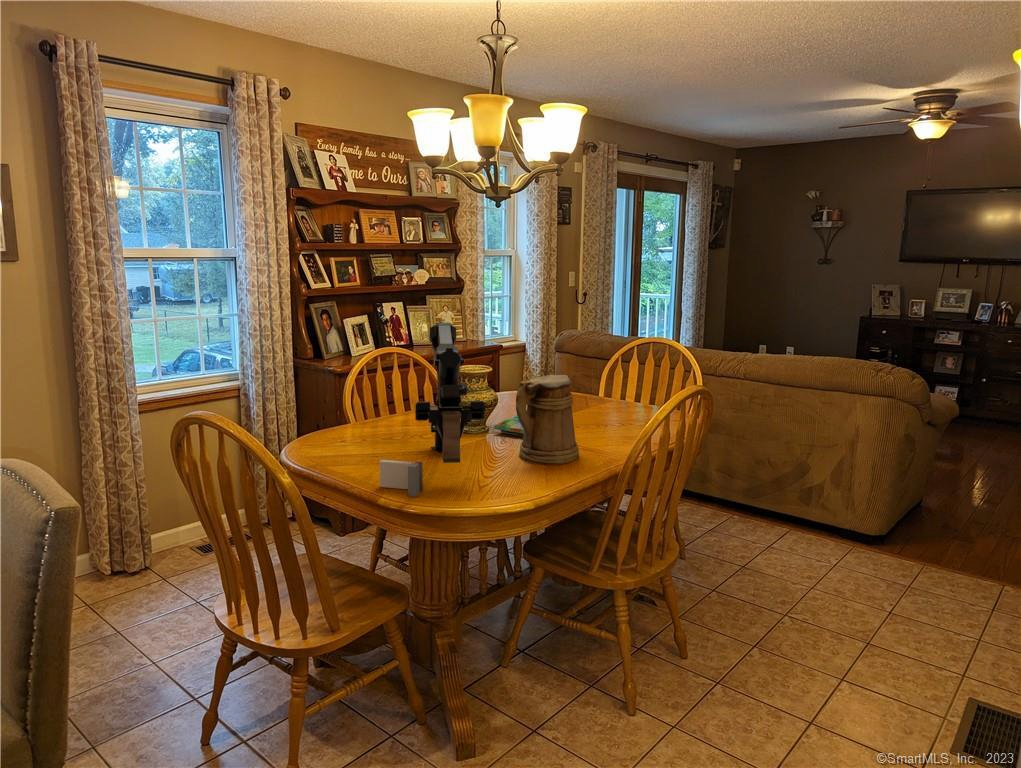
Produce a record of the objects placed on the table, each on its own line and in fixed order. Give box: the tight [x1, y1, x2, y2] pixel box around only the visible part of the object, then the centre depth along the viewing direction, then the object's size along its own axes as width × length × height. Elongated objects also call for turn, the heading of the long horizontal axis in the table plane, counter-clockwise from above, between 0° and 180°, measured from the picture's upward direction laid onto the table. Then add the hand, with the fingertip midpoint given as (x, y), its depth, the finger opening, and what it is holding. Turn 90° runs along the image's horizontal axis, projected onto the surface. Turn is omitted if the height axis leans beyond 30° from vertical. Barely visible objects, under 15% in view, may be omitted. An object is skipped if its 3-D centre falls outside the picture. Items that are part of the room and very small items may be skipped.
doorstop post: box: [441, 411, 461, 464], centre depth 188 cm, size 4×4×13 cm
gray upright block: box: [407, 463, 421, 498], centre depth 181 cm, size 3×2×8 cm, turn 167°
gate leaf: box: [379, 459, 424, 491], centre depth 186 cm, size 12×2×7 cm, turn 78°
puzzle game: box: [493, 414, 524, 437], centre depth 246 cm, size 12×5×20 cm
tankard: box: [515, 374, 580, 466], centre depth 213 cm, size 18×24×25 cm
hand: (451, 437), depth 187 cm, fingers closed on doorstop post, 4 cm apart
